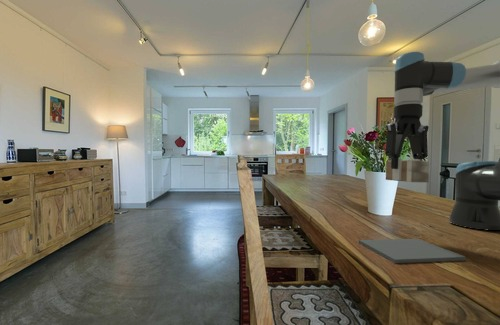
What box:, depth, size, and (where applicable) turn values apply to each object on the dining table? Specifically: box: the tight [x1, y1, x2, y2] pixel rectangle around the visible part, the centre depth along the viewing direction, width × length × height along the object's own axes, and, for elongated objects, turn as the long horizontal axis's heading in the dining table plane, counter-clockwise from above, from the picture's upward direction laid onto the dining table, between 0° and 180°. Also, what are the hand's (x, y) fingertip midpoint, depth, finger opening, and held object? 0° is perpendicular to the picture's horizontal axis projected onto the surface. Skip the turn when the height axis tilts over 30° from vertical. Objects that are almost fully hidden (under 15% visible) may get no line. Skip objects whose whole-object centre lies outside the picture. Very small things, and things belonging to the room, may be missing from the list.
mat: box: [358, 238, 467, 264], centre depth 64 cm, size 18×14×1 cm
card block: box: [385, 159, 430, 183], centre depth 79 cm, size 6×10×6 cm, turn 13°
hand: (405, 179), depth 79 cm, fingers closed on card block, 6 cm apart
